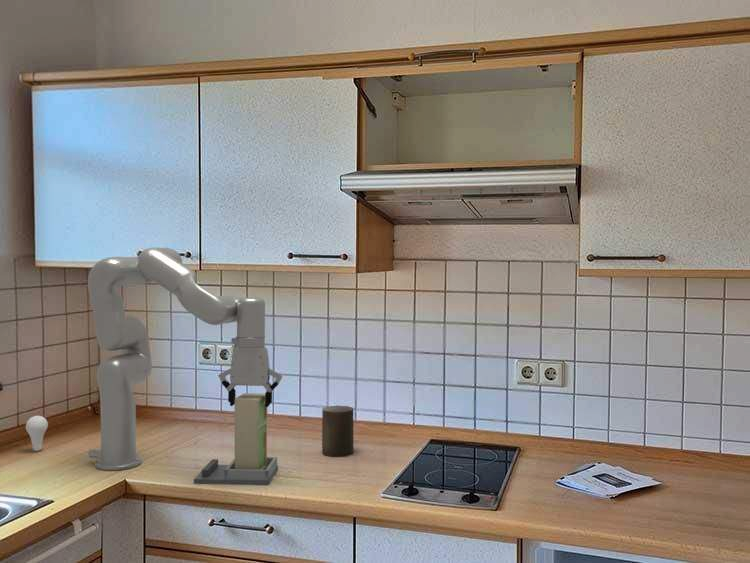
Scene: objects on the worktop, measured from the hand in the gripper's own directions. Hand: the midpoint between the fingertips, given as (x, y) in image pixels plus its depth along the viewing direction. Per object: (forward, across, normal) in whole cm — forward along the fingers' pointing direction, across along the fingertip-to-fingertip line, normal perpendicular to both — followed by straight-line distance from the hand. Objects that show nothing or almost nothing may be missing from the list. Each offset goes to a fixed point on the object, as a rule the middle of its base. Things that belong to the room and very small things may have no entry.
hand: (250, 405), depth 190 cm
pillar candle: (+20, +22, +25) cm, 38 cm away
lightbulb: (+21, -71, +21) cm, 77 cm away
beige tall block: (+19, +1, 0) cm, 19 cm away
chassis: (+20, -3, 0) cm, 20 cm away
